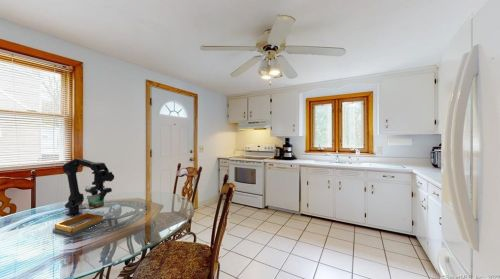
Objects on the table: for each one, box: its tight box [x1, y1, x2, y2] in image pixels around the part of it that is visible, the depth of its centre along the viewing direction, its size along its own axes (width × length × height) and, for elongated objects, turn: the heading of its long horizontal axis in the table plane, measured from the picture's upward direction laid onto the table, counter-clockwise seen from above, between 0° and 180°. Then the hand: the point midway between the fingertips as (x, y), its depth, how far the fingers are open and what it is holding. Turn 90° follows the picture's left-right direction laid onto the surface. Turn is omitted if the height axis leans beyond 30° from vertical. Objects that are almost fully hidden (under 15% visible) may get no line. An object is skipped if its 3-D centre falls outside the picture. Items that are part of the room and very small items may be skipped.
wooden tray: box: [52, 212, 105, 238], centre depth 133 cm, size 16×21×5 cm
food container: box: [86, 194, 105, 210], centre depth 147 cm, size 12×6×10 cm, turn 166°
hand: (98, 200), depth 147 cm, fingers closed on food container, 6 cm apart
